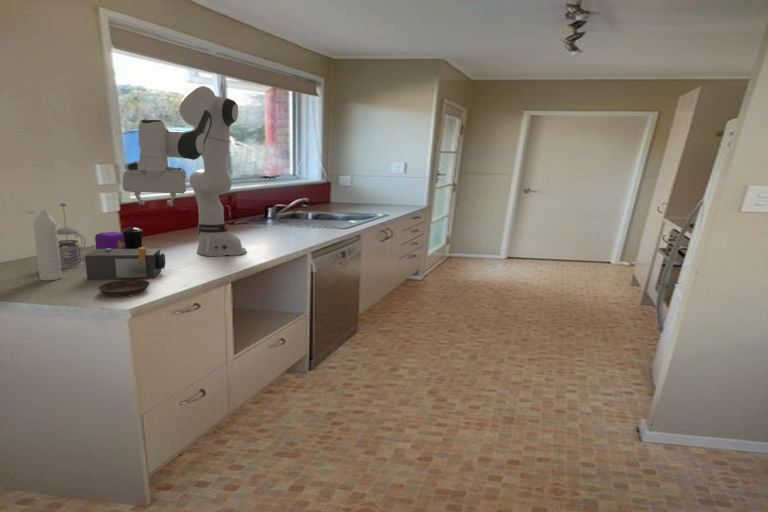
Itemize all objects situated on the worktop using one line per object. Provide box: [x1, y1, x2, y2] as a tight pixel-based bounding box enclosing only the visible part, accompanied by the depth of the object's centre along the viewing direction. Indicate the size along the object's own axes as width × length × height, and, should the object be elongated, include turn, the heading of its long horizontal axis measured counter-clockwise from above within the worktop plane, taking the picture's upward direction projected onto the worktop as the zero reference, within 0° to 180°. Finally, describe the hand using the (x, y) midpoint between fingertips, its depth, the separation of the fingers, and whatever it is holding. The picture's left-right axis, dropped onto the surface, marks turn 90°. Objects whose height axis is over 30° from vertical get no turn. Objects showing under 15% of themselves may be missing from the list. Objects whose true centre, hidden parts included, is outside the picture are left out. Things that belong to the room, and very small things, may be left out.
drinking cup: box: [121, 214, 144, 249], centre depth 185 cm, size 8×8×20 cm
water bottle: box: [26, 208, 63, 282], centre depth 155 cm, size 9×6×25 cm
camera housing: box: [84, 248, 166, 281], centre depth 167 cm, size 24×12×10 cm, turn 103°
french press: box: [56, 202, 86, 269], centre depth 176 cm, size 10×12×25 cm
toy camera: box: [94, 231, 126, 250], centre depth 201 cm, size 11×14×10 cm
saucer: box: [97, 279, 150, 298], centre depth 148 cm, size 15×15×3 cm
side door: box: [115, 247, 147, 278], centre depth 160 cm, size 10×2×11 cm, turn 104°
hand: (156, 205), depth 159 cm, fingers open, 8 cm apart
